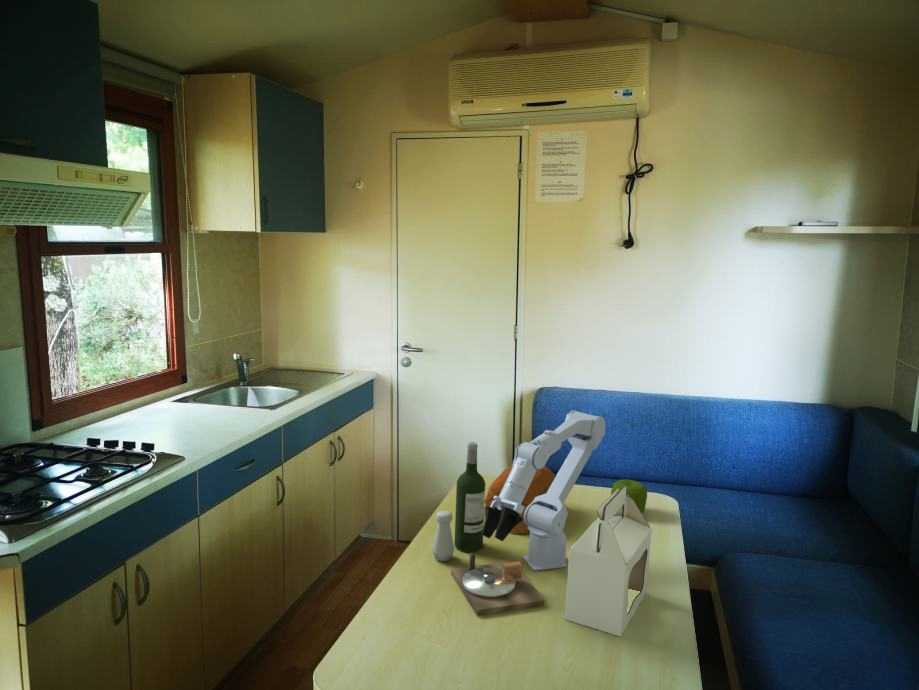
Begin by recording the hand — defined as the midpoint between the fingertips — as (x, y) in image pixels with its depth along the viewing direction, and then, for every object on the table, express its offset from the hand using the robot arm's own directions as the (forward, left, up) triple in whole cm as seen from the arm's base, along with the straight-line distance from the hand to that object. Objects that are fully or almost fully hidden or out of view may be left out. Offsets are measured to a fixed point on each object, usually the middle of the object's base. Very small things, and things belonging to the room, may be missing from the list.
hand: (492, 537), depth 169 cm
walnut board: (-2, -1, -14) cm, 14 cm away
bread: (-26, -41, -15) cm, 50 cm away
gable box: (-25, +13, -15) cm, 32 cm away
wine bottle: (-3, -25, -14) cm, 29 cm away
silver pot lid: (-1, -1, -13) cm, 13 cm away
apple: (-60, -35, -14) cm, 71 cm away
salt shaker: (+6, -20, -14) cm, 25 cm away
